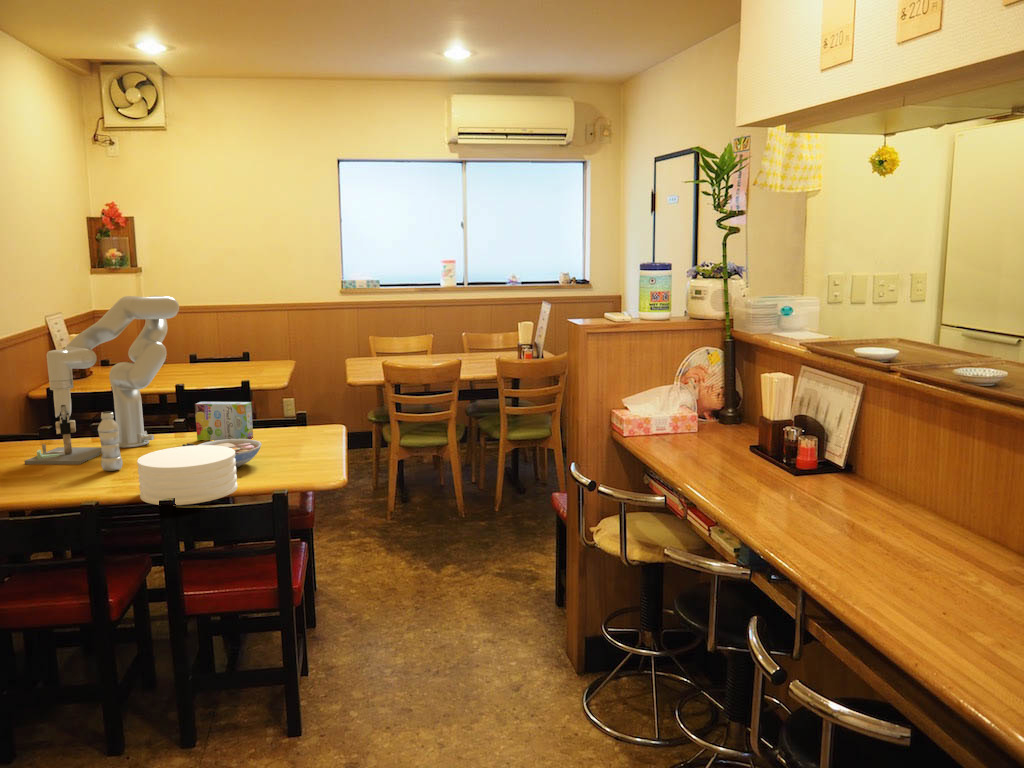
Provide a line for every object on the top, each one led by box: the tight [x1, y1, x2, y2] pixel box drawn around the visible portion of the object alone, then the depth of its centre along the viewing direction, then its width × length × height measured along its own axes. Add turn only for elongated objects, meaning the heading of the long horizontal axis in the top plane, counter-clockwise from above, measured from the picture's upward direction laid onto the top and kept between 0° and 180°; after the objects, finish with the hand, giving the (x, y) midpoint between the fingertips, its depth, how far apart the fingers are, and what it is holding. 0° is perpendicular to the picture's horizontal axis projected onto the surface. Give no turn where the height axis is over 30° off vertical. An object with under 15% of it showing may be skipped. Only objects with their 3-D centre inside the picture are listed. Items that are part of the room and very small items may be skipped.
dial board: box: [23, 446, 102, 465], centre depth 303 cm, size 20×20×3 cm
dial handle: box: [41, 419, 77, 455], centre depth 302 cm, size 11×2×12 cm, turn 113°
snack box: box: [194, 401, 254, 441], centre depth 326 cm, size 21×6×15 cm, turn 82°
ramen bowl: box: [181, 439, 262, 469], centre depth 287 cm, size 25×23×8 cm
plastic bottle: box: [97, 411, 124, 472], centre depth 283 cm, size 6×7×20 cm
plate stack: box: [136, 444, 238, 506], centre depth 258 cm, size 28×28×12 cm
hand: (66, 431), depth 302 cm, fingers open, 9 cm apart
